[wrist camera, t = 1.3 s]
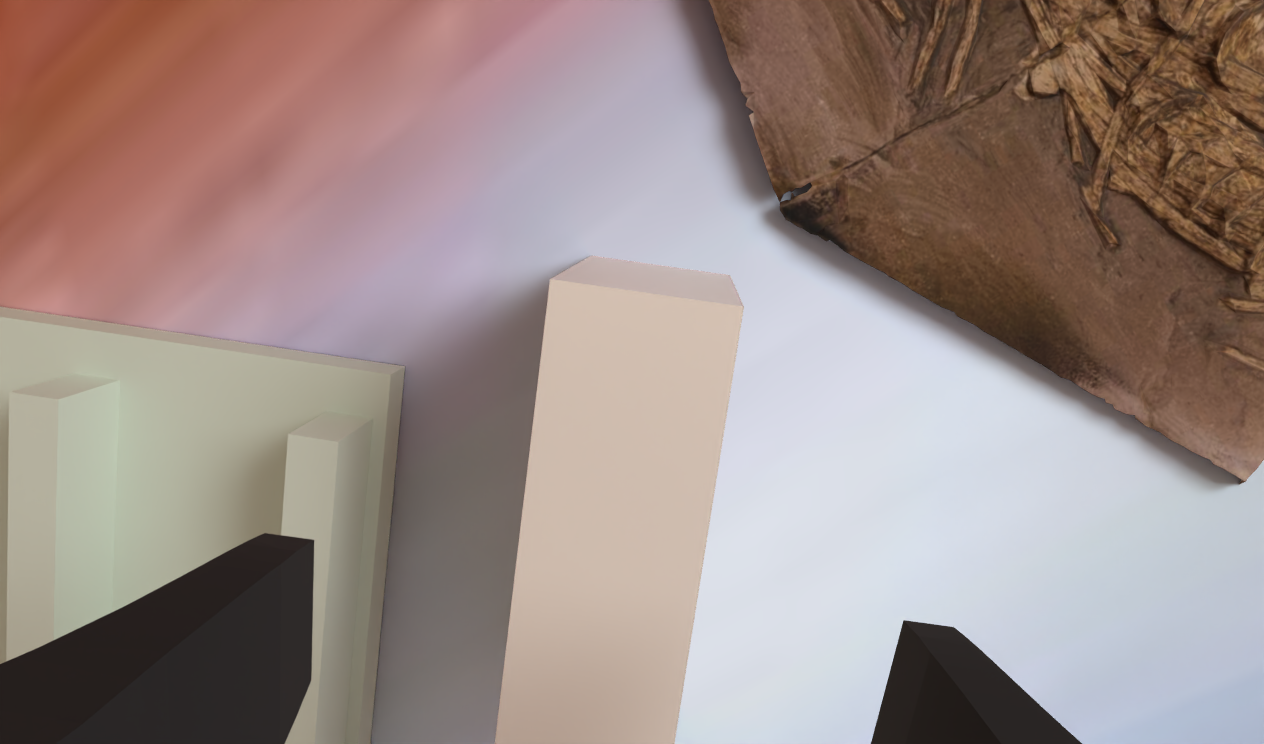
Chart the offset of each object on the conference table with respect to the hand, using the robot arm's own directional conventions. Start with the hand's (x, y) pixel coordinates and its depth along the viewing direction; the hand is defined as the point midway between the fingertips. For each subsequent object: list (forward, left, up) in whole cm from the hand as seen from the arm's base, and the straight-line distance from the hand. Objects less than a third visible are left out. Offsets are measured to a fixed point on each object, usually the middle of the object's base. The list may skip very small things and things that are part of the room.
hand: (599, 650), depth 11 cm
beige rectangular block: (-1, 0, -10) cm, 10 cm away
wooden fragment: (+11, -4, -10) cm, 16 cm away
